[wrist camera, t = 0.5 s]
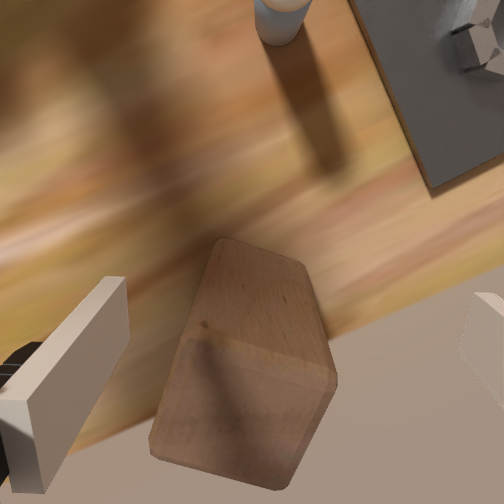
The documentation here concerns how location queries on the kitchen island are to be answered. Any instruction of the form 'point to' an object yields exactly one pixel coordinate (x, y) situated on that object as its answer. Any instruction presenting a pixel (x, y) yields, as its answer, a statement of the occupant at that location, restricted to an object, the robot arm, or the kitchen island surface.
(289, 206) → the kitchen island surface
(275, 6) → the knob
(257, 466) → the wooden block
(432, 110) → the base plate
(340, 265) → the kitchen island surface
